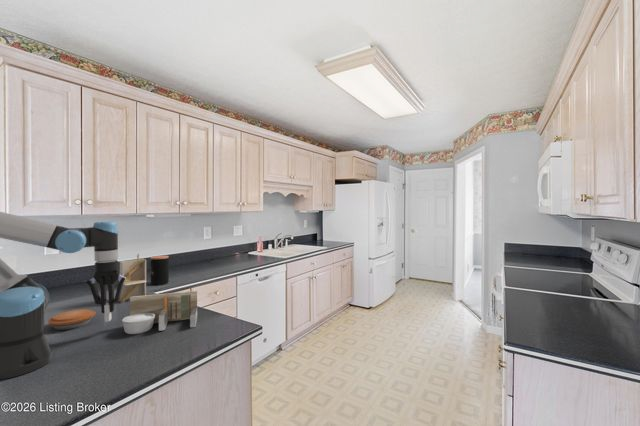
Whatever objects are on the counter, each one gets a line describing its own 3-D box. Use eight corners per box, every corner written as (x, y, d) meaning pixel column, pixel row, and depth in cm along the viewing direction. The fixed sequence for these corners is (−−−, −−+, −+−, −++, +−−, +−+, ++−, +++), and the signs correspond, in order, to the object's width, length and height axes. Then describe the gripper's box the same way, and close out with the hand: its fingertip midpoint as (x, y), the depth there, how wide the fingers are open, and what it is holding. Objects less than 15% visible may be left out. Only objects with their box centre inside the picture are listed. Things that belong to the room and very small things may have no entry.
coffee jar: (152, 282, 198) (152, 255, 198) (170, 281, 201) (170, 255, 201) (148, 286, 188) (148, 258, 188) (167, 285, 191) (166, 257, 191)
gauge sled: (164, 330, 117) (164, 302, 117) (158, 330, 117) (158, 303, 117) (168, 321, 127) (168, 295, 127) (163, 321, 126) (163, 296, 126)
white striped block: (195, 327, 121) (195, 315, 121) (190, 327, 120) (190, 315, 120) (197, 318, 131) (196, 307, 131) (192, 319, 130) (192, 308, 130)
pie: (76, 332, 117) (76, 319, 117) (36, 332, 116) (36, 320, 116) (104, 318, 132) (104, 307, 132) (69, 318, 132) (69, 307, 132)
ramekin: (161, 326, 122) (161, 314, 122) (136, 337, 111) (136, 323, 111) (141, 323, 126) (141, 311, 126) (115, 333, 115) (115, 320, 115)
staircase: (118, 301, 157) (118, 254, 157) (143, 297, 165) (142, 252, 165) (123, 304, 152) (123, 255, 152) (147, 299, 160) (147, 253, 160)
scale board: (197, 318, 131) (197, 291, 131) (130, 325, 122) (129, 297, 122) (197, 317, 132) (197, 290, 132) (130, 324, 124) (130, 296, 124)
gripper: (128, 258, 121) (129, 315, 121) (90, 260, 116) (92, 319, 117) (123, 261, 114) (124, 321, 114) (82, 263, 109) (84, 326, 110)
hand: (108, 320), depth 115 cm, fingers closed
